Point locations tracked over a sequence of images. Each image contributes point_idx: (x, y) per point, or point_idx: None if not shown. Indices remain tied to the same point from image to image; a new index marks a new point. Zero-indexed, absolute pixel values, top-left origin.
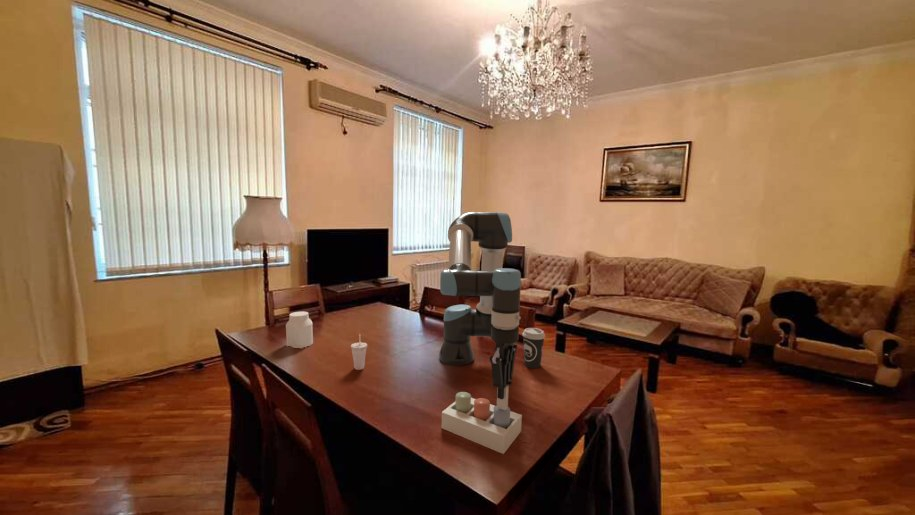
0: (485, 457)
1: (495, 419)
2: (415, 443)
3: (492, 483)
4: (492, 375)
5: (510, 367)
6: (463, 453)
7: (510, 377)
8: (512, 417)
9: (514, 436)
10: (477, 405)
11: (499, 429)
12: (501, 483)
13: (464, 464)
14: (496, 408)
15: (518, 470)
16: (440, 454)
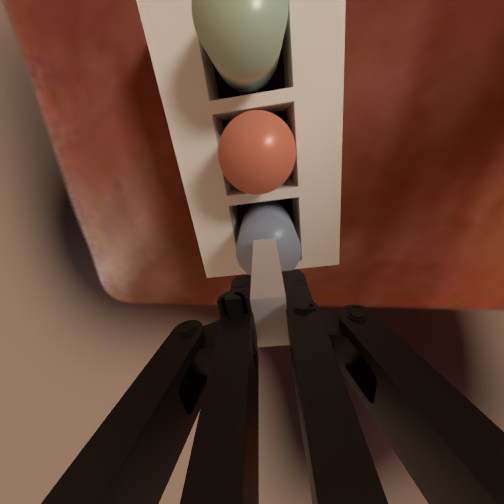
0: (176, 230)
1: (239, 232)
2: (36, 13)
3: (133, 280)
4: (107, 418)
5: (397, 441)
6: (141, 180)
7: (341, 369)
8: (307, 250)
9: None
10: (218, 157)
11: (222, 253)
12: (147, 291)
13: (119, 208)
14: (256, 235)
15: (199, 297)
16: (85, 132)
